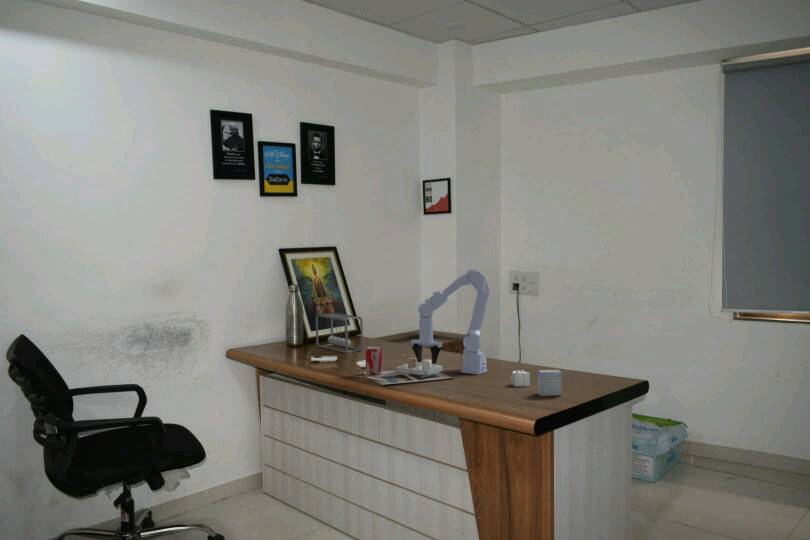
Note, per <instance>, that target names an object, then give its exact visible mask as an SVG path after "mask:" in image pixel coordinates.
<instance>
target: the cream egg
mask: <svg viewBox="0 0 810 540" xmlns="http://www.w3.org/2000/svg"><path fill="white" fill-rule="evenodd" d="M421 363H422V370H429V369H431V364H432V359H428V358H427V359H422V361H421Z"/></svg>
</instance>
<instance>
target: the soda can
mask: <svg viewBox="0 0 810 540" xmlns="http://www.w3.org/2000/svg"><path fill="white" fill-rule="evenodd" d="M365 372H366V375H367V376H373V377H374V376H375V375H377V376H381V375H382V374H383V351H382V349H381V346H377V345H376V346H375V345H374V346H373V345H372V346H371V345H370V346H367V347H366V350H365ZM375 377H376V376H375Z"/></svg>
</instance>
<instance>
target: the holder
mask: <svg viewBox="0 0 810 540" xmlns="http://www.w3.org/2000/svg"><path fill="white" fill-rule="evenodd" d="M442 371H444V365H439V364H432V363H431V369H429V370H422V362H417V367H415V368H412V369H410V368H408V365H407V363H405V364H402V365H399V366H396V367H395V373H403V374H411V375H416V376H417V375H418V376H426V377H427V376H431V375H433V374H436V373H439V372H440V373H441V372H442Z"/></svg>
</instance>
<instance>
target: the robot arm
mask: <svg viewBox="0 0 810 540" xmlns="http://www.w3.org/2000/svg"><path fill="white" fill-rule="evenodd" d="M470 284H471V285H472V286H473V288H474V289H475V291H476V292H477V293H476V298H475V303H474V305H473V310H472V314H471V319H470V323H469V328H468V330H467V332H466V334H465V336H464V337H463V339H462V344H463V346H464V349H463V351H462V353H463V354H462V355H463V358H462V359H463V360H462V361H463V363H462V364H463V366H462V367H463V369H462V370H460V371H459V373H462V374H463V373H465V374H471V375H481V374H484V373H487V372H488V369H487V354H486V353H485V352H482V351H481V349H480V348H481V339H480V338H481V329H482V326H483V325H482V324H483V321H484V316H485V312H486V309H487V303H488V300H489V296H490V287H489V284H488V281H487V277H486V276H485V274H484V273H483V272H482V271H480V269H476V268H470V269H469V270H467V271H465V272H464V273H462V274H461V275H460V276H458V277H457V278H456V279H455V280H454V281H453V282H451V283H450V284H449V285H448V286H447V287H446V288H445V289H443V290H438V291H434V292H433V295H432V296H430V297H429V298H428V299H425V300H424V301H425V302H422V303H420V304H419V306H418V309H417V311H418V313H419V317H418V318H419V321H418V322H419V323H418V324H419V327H418V329H419V339H411V341H410V343H411V345H412V346H411V349H412V350H413V353H414V354H415V358H417V363H422V360H423V359H422V358H423V357H422V354H423V347H424V346H427V347H429V350H430V353H431V364H432V365H436V364H437V362H438V357H439V354H440V352H441V350H442V347H443V342H442V341H437V340H434V329H433V327H434V325H433V322H434V321H433V314H434V311H437V310H438V309H439V308H440V307H442V306H443V305H444V304H445V303H447V301H448V297H449V296H450V295H452V294H454V293H455V292H456V291H457V290H458V289H460V288H462V287H463V286H470Z"/></svg>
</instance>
